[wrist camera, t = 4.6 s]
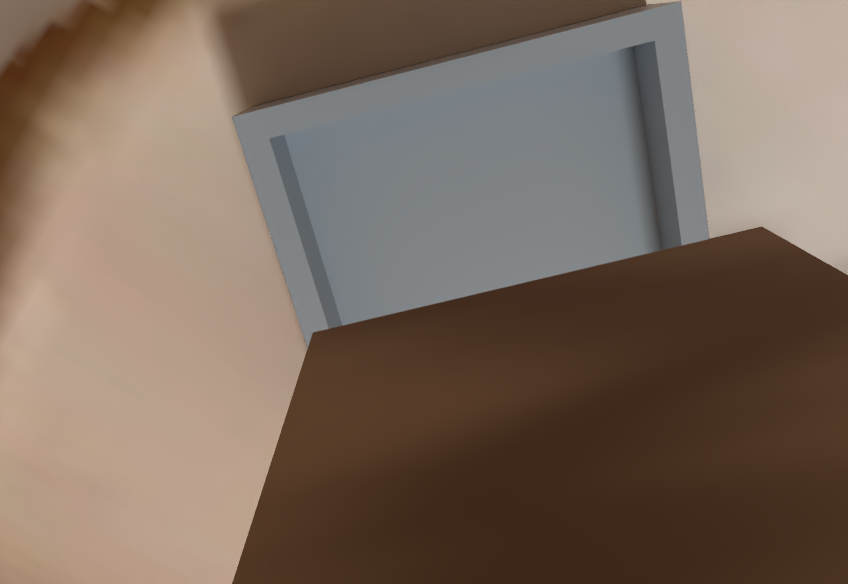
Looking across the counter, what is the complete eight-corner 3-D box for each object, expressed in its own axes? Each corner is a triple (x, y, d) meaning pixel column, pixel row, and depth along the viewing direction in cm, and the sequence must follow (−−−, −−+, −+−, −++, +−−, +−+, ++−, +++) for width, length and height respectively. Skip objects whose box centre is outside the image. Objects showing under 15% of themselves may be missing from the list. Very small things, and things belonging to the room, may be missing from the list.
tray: (647, 4, 17) (681, 1, 14) (696, 367, 20) (729, 407, 17) (253, 106, 17) (232, 116, 15) (359, 442, 20) (353, 489, 18)
